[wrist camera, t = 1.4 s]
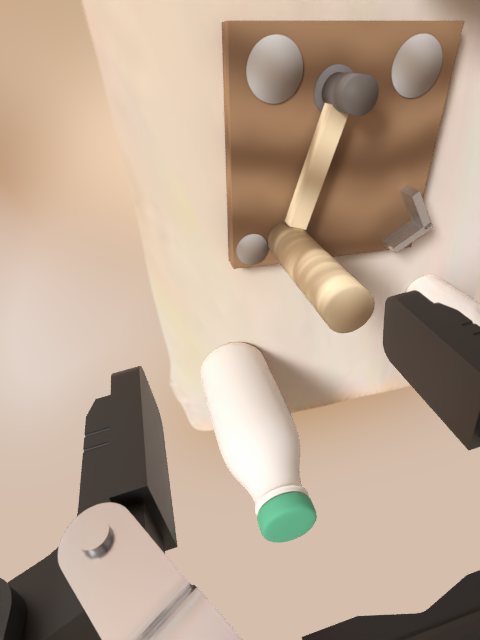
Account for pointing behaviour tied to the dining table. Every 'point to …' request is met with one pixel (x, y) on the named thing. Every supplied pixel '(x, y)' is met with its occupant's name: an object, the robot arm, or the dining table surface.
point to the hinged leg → (289, 237)
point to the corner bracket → (417, 224)
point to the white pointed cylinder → (447, 296)
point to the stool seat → (302, 118)
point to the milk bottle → (258, 438)
